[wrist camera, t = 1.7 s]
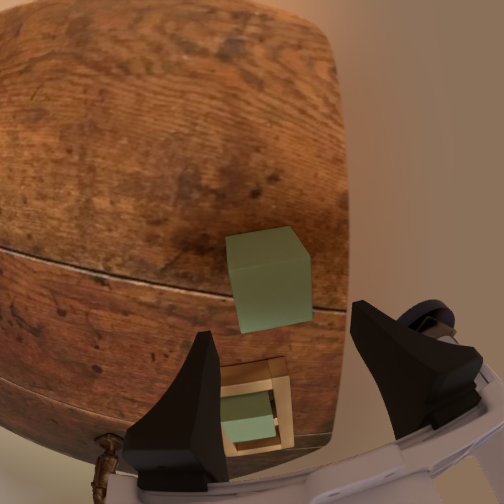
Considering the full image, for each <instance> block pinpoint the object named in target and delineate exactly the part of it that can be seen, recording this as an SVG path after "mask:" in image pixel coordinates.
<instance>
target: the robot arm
mask: <svg viewBox="0 0 504 504" xmlns="http://www.w3.org/2000/svg"><path fill="white" fill-rule="evenodd" d="M456 332H457V331H456V330H455V329H454V328H452V327H450V326H448V325H446V324H444V323H442V322H440V321H438V320H436V319H434V318H432V317H430V316H427V317H426V318H425V319H424V320H423V322H422V323H421V324H420V325H419V327H418V328H417V329H416V330H415V331H414V330H412V329H410V328H408V327H406V326H404V325H403V324H401V323H399V322H397V321H396V320H394V319H392V318H390V317H389V316H387V315H386V314H384V313H383V312H381V311H380V310H378V309H377V308H375V307H373V306H372V305H370V304H369V303H367V302H366V301H364V300H361V301H357V302H353V303H352V315H351V326H350V334H351V336H352V339H353V341H354V343H355V346H356V348H357V350H358V352H359V353H360V355H361V357H362V359H363V360H364V362H365V364H366V365H367V367H368V369H369V371H370V372H371V374H372V376H373V378H374V379H375V381H376V383H377V385H378V388H379V390H380V392H381V395H382V398H383V400H384V403H385V406H386V408H387V411H388V414H389V417H390V421H391V424H392V427H393V430H394V435H395V438H396V441H394V442H391V443H389V444H386V445H384V446H381V447H379V448H376V449H373V450H371V451H368V452H365V453H362V454H360V455H356V456H353V457H350V458H347V459H344V460H341V461H337V462H334V463H330V464H327V465H323V466H320V467H316V468H312V469H307V470H303V471H299V472H294V473H289V474H284V475H278V476H272V477H267V478H259V479H252V480H244V481H234V482H229V477H228V471H227V465H226V459H225V452H224V445H223V437H222V428H221V416H220V404H221V372H220V362H219V357H218V354H217V350H216V347H215V344H214V341H213V337H212V334H211V331H204V332H198V333H197V335H196V337H195V340H194V343H193V345H192V347H191V350H190V352H189V354H188V356H187V358H186V360H185V362H184V364H183V366H182V368H181V369H180V371H179V373H178V375H177V376H176V378H175V380H174V381H173V383H172V384H171V386H170V387H169V388H168V390H167V391H166V392H165V394H164V395H163V396H162V397H161V399H160V400H159V401H158V402H157V403H156V405H155V406H154V407H153V408H152V409H151V410H150V411H149V412H148V413H147V414H146V415H145V416H144V417H142V418H141V419H140V420H139V421H138V422H136V423H135V424H134V425H133V426H131V427H130V428H129V429H127V432H126V435H125V438H124V443H123V449H122V458H123V459H124V460H125V461H126V462H127V463H128V464H129V465H130V466H132V467H133V468H134V469H135V470H136V471H138V478H136V477H133V476H128V475H119V474H109V478H108V485H107V493H106V501H105V504H443V503H442V501H441V498H440V496H439V494H438V492H437V489H436V487H435V485H434V483H433V481H432V479H434V478H435V477H437V476H439V475H440V474H442V473H444V472H445V471H447V470H448V469H450V468H451V467H453V466H454V465H456V464H457V463H459V462H460V461H461V460H463V459H464V458H469V457H475V459H476V460H477V462H478V464H479V465H480V467H481V469H482V471H483V472H484V474H485V476H486V478H487V480H488V482H489V484H490V486H491V488H492V489H493V491H494V493H495V495H496V497H497V499H498V501H499V503H500V504H504V383H503V382H502V381H501V380H500V378H499V377H498V376H497V374H496V373H495V372H494V371H493V370H492V369H491V368H490V367H489V365H488V364H487V363H483V357H482V356H481V355H480V354H479V353H478V352H477V351H476V349H475V348H474V347H469V346H461V345H460V344H459V343H458V342H457V341H456V339H455V338H454V335H455V334H456Z"/></svg>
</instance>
